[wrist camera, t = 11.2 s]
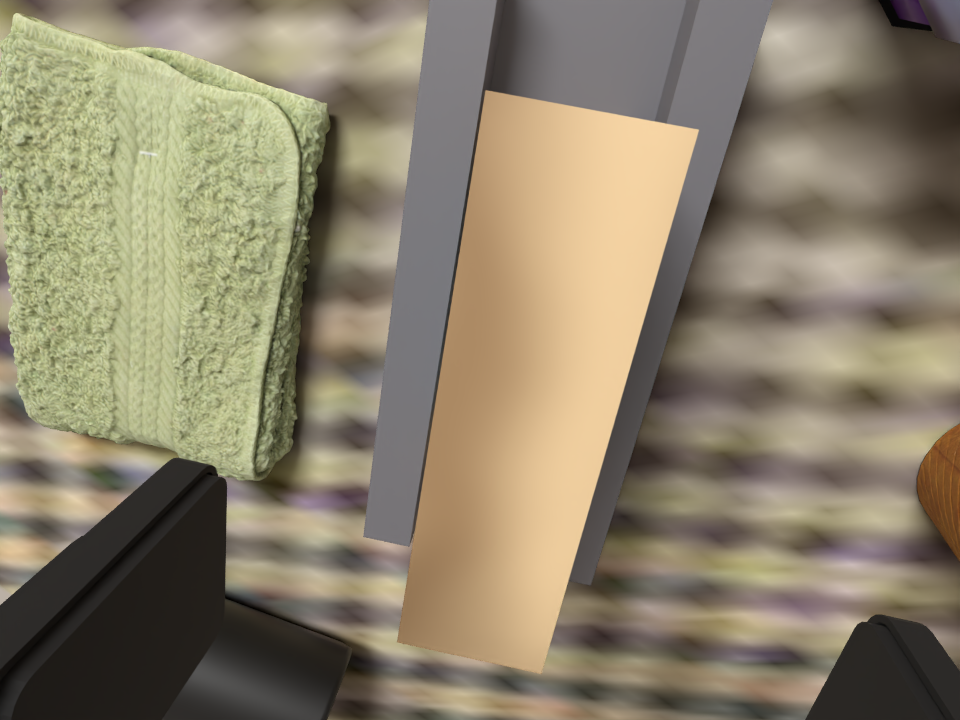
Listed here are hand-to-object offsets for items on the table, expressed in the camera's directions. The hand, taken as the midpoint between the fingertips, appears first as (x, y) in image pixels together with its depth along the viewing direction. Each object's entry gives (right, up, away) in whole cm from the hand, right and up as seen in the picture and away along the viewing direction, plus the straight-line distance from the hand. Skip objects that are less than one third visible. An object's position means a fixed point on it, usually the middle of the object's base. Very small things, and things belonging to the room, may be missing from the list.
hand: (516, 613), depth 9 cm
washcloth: (-14, +8, +19) cm, 25 cm away
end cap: (-13, -11, +26) cm, 31 cm away
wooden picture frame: (+1, +6, +15) cm, 16 cm away
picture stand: (+2, +7, +16) cm, 18 cm away
